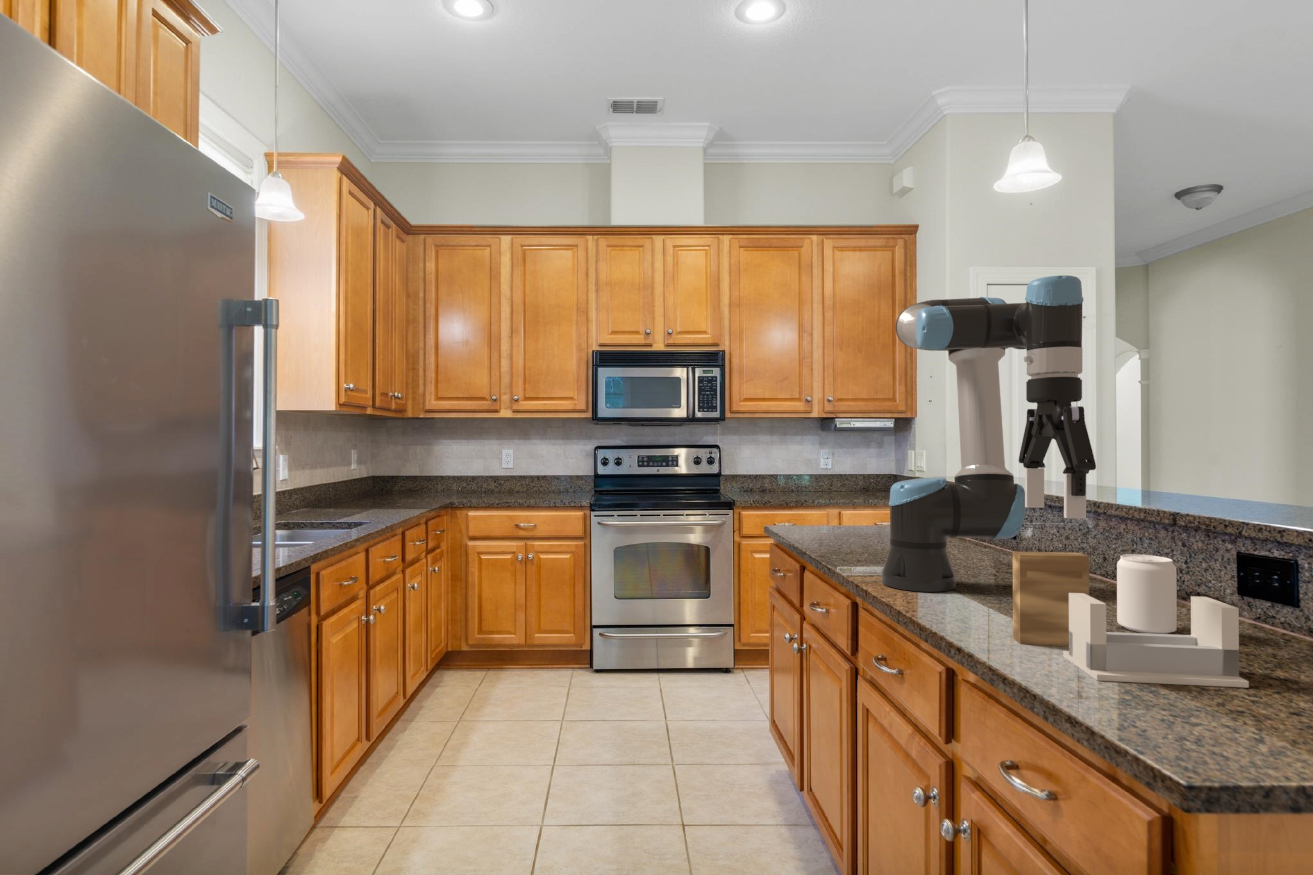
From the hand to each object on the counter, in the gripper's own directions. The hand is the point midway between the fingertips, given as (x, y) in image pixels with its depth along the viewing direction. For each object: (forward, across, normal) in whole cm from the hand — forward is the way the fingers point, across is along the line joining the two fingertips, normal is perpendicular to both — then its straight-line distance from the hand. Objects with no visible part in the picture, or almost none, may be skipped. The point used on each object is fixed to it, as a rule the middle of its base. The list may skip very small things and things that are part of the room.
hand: (1053, 512), depth 105 cm
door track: (+20, +12, +7) cm, 25 cm away
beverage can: (+21, -10, +19) cm, 30 cm away
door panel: (+21, 0, 0) cm, 21 cm away
